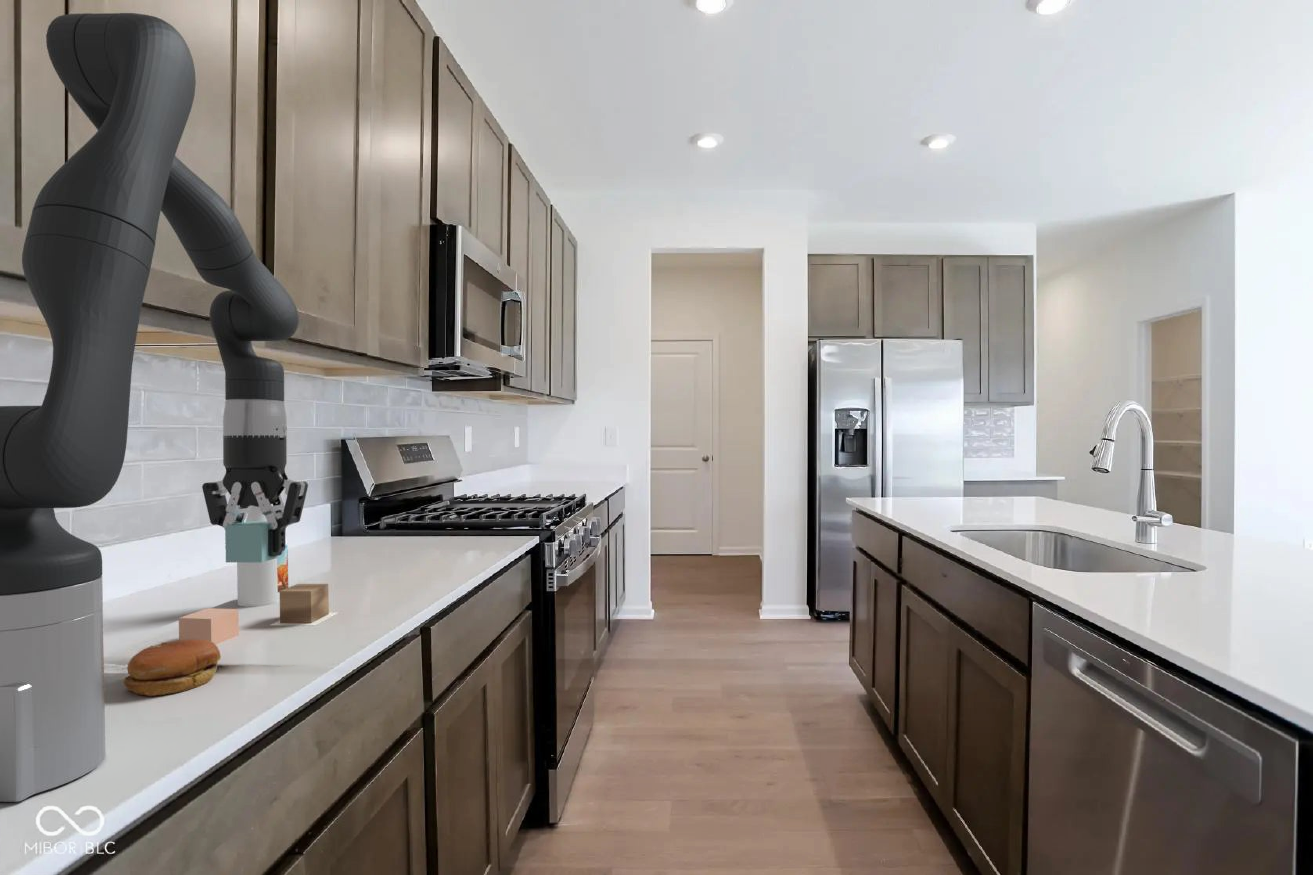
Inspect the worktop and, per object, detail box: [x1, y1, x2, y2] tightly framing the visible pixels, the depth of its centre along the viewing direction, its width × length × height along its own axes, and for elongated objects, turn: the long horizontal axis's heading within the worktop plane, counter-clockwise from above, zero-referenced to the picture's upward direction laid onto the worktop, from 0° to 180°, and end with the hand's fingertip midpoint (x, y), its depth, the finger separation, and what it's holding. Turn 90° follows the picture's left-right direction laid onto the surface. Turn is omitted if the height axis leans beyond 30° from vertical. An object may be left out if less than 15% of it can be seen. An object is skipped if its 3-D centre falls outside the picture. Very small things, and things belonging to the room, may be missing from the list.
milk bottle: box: [236, 504, 289, 608], centre depth 115 cm, size 8×8×20 cm
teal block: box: [225, 521, 284, 563], centre depth 90 cm, size 5×5×5 cm
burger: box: [123, 639, 222, 697], centre depth 81 cm, size 10×9×5 cm
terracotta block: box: [178, 607, 240, 646], centre depth 93 cm, size 5×5×5 cm
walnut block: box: [279, 583, 330, 623], centre depth 104 cm, size 5×5×5 cm
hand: (255, 555), depth 90 cm, fingers closed on teal block, 5 cm apart
